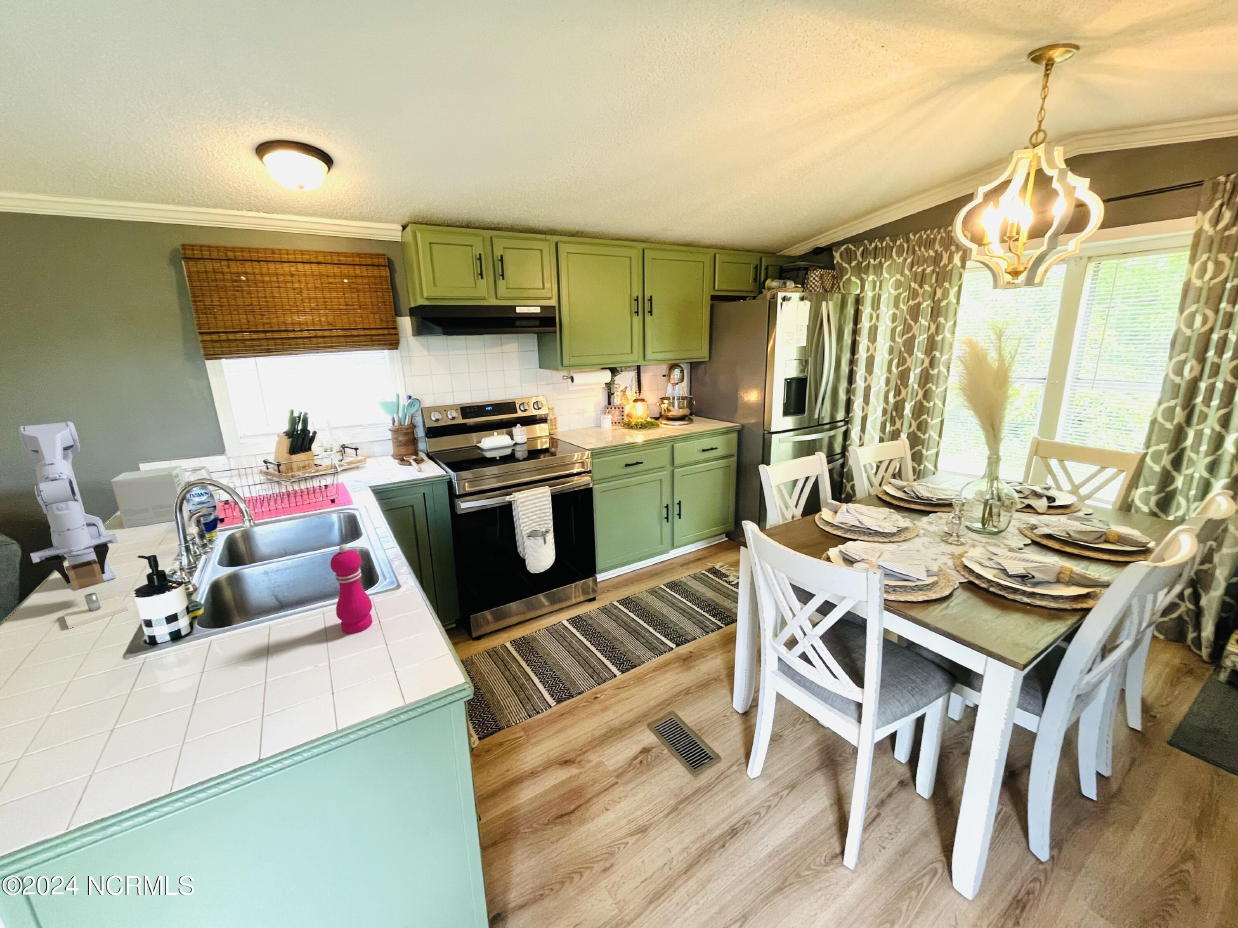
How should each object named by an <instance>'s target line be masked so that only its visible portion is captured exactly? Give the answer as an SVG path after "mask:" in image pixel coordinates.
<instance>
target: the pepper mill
mask: <svg viewBox="0 0 1238 928" xmlns="http://www.w3.org/2000/svg"><path fill="white" fill-rule="evenodd" d="M360 566H362V558H361V555H360V553H358V552H357V551H356V550H352V549H349V546H348V545H346V544H341V545H340V546H339V547H338V552H337V553H335V554H334V555H333V556H332V557H331V559H330V569H331V570H332V572H334V573H335V575H334V577H335V581H336V582H337V583H338V586H339V595H338V599H337V603H336V606H335V612H336V613H335V614H336V617H337V618H338V619H339V620H340V621H341V622H340V627H341V631H342V632H343V633H345V634H357V633H361V632H363V631H365V630H367V629H368V628H370V627H371V625H372V624H373V618H372V614H371V611H372V609H373V603H372V601H371V598H370V597H369V594H367V592H366V590H364V588H363V586H362V584H361V578H360V577H361V576H362V573H361V568H360Z"/></svg>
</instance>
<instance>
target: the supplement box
mask: <svg viewBox="0 0 1238 928" xmlns="http://www.w3.org/2000/svg"><path fill="white" fill-rule="evenodd" d="M182 472H183V468H182V465H175V466H174V465H173V466H168V467H159V468H152V469H151V468H150V469H144V470H143V469H142V470H135V471H134V470H133V471H126V472H122V473H121V474H119V475H117V476H115V477H114V478H112V479H111V480H110V481H109V482H110V484H111V487H112V491H113V493H114V494H113V495H114V497H115V500H116V504H117V507H118V511H119V515H120V519H121V521H122V524H123V529H129V528H135V527H141V526H148V525H155V524H156V525H157V524H160V523H168V522H176V521H175V520H174V504H175V500H176V498H177V495H178V492H179V490H180V488H181V487H182V485H183V484H184V483H185V482H186V479H185V475H184V476H182ZM183 473H184V472H183Z"/></svg>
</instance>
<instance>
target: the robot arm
mask: <svg viewBox="0 0 1238 928" xmlns="http://www.w3.org/2000/svg"><path fill="white" fill-rule="evenodd" d="M17 431H18V436H19V439H20V442H21V445H22V446H23V448H24V449H25V451H26V453H27V455H28V456H29V457H30V458H31V459H35V460H41V461H40V462H38V463H37V464H36V466H35V472H36V479H37V481H36V482H37V485H34V493H35V497H36V499H37V502H38V504H39V505H40V507H41V509H42V512H43V513H44V515H46V517H47V521H48V524H49V526H50V530H49V531H50V534H51V536H50V537H51V538H50V539H51V541H52V542H51V543H52V545H53V546H52V547H49V548H45V549H43V550H39V551H35V552H31V553H30V559H31V561H32V563H33V564H35V563H39V562H40V561H43V560H45V563H46V564H47V565H48V566H49V567H51V568H52V569H53V570H55V571H56V572H57V573H58V574H59V575H60V576H61V577H62V578H63V580H64V581H65V583H66V585H69V584H70V583H71V582H70V579H69V577H68V575H67V572H66V569H65V565H64V562H63V559H62V557H61V556H64V558H66V561H67V563H68V566H69V565H73V564H77V563H81V562H85V561H89V560H93V559H96V561H97V562H98V564H99V566H100V569H101V572H102V576H103V579H104V582H106V581H110V580H113V579H116V578H117V575H116V574H115V573H114V571H113V569H112V568H111V567H110V564H109V563H110V562H109V561H108V557H107V556H108V553H109V550H110V546H109V544H116V543H118V542H119V541H118V538H117V535H116V533H112V534H107V531H106V528H105V525H104V523H103V520H102V519H101V518H100V517H98V516H95V515H92V514H88V513H86V511H85V508H84V505H83V504H84V503H83V501H82V500H83V499H82V496H81V494H80V490H79V487H78V483H77V480H76V476H75V473H74V468H73V466H72V461H73V456H75V455H77V454H78V453H80V452H81V451H80V449H81V445H80V441H79V436H78V433H77V430H76V427H75V424H74V422H71V421H69V420H68V421H64V422H54V423H42V424H34V425H33V424H32V425H25V426H24V425H20V426H19V427H18V429H17ZM70 585H71V584H70Z"/></svg>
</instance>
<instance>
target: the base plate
mask: <svg viewBox="0 0 1238 928" xmlns="http://www.w3.org/2000/svg"><path fill="white" fill-rule="evenodd" d="M84 600H85V603H86V605H84V606H81V607H78V608H75V609H71V610H68V611H65V612H62V614H63V617H64V620H65V623H66V625H67V627H68V630H70V628H71V629H73V628H72V627H74V628H77V627H79V626H80V627H81V626H83V625H85V624H89V623H93V622H95V621H98V620H102V619H104V618H105V619H106V618H108V617H111V616H113V615H116V614H117V615H118V614H120V613H123V612H127V611H128V610H129V608H128V606H127V605H126V603H125V601H124V600H123V598H122V596H121V595H117V596H113V597H110V598H108V599H104V600H101V601H100V600H99V599H98V595H97V593H96V592H91V593H87V594H86V595H84Z"/></svg>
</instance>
